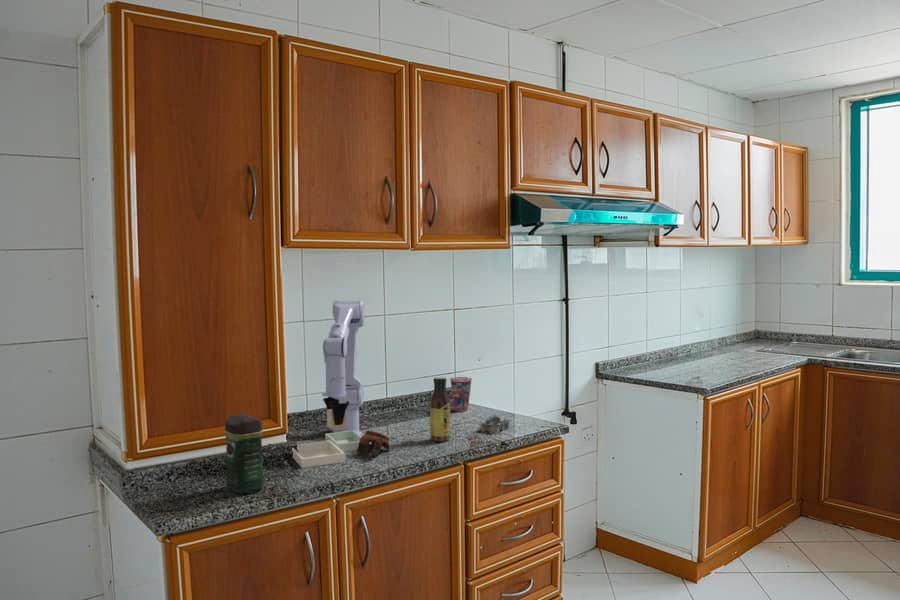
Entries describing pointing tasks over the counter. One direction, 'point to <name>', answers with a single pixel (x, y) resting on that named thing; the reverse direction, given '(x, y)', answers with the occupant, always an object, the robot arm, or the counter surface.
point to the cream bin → (318, 454)
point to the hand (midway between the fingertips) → (336, 422)
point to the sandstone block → (331, 420)
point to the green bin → (344, 440)
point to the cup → (460, 393)
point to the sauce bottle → (440, 412)
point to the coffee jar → (244, 454)
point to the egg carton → (494, 424)
